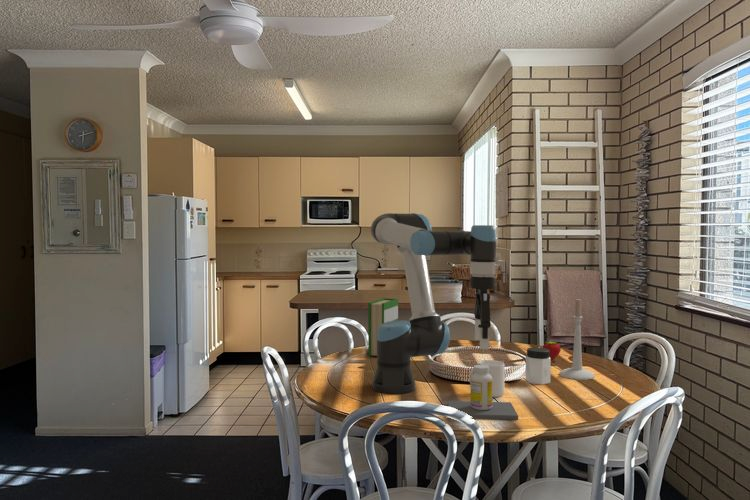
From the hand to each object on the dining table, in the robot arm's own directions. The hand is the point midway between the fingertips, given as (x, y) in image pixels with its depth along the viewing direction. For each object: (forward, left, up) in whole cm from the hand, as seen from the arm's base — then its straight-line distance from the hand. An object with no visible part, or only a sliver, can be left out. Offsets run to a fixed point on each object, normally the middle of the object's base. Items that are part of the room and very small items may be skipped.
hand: (481, 344), depth 175 cm
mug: (+4, +20, -21) cm, 29 cm away
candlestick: (+42, +47, -21) cm, 66 cm away
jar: (+25, +37, -21) cm, 49 cm away
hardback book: (-34, +80, -21) cm, 90 cm away
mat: (0, 0, -21) cm, 21 cm away
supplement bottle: (0, 0, -20) cm, 20 cm away
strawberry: (+38, +71, -21) cm, 83 cm away
